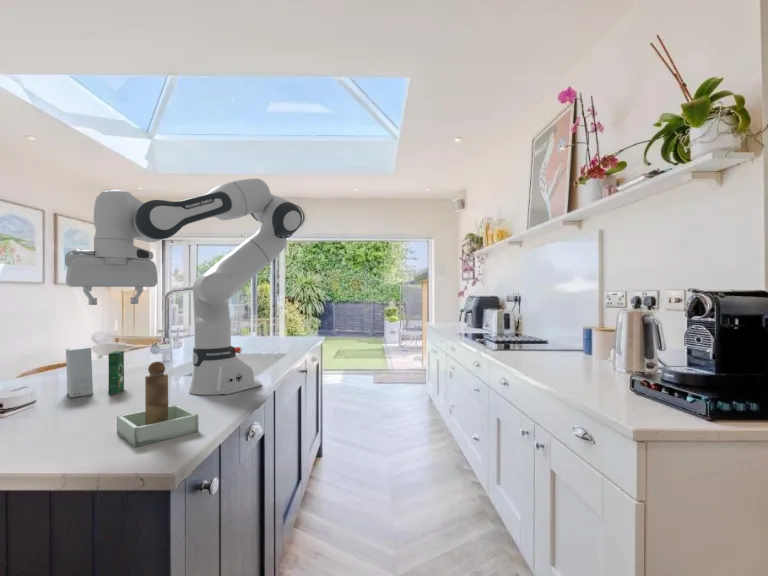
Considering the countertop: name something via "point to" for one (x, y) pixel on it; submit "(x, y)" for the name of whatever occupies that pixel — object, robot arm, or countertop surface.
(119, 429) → the bin
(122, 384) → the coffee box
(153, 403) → the mill
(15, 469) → the countertop surface
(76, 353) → the skincare box
